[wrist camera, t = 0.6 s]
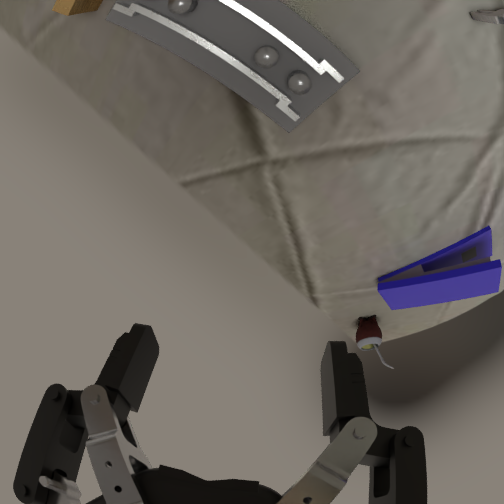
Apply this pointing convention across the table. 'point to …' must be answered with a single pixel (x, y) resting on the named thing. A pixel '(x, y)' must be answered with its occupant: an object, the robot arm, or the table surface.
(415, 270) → the stapler
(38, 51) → the table surface
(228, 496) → the robot arm
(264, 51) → the grey studded track end
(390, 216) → the table surface
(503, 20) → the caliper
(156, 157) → the table surface
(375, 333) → the mate gourd
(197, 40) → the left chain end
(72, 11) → the tall wooden block
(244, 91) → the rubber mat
